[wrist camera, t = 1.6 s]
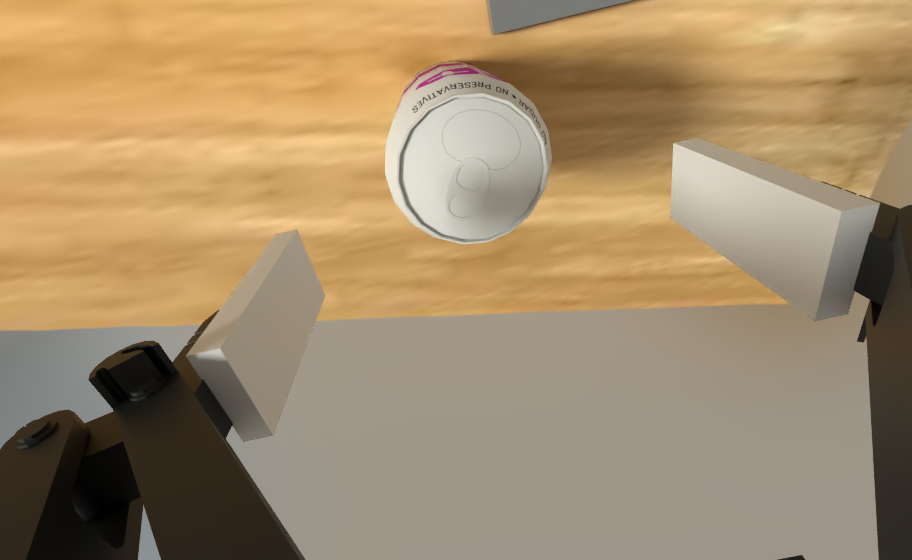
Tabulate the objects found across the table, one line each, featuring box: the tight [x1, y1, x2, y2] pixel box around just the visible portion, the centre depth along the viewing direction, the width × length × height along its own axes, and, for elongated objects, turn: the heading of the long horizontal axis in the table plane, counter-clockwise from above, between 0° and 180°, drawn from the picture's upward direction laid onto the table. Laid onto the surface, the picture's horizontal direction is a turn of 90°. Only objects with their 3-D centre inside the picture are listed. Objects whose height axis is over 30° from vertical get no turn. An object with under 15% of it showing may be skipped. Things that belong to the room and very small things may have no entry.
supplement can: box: [385, 61, 552, 244], centre depth 26 cm, size 8×8×15 cm
